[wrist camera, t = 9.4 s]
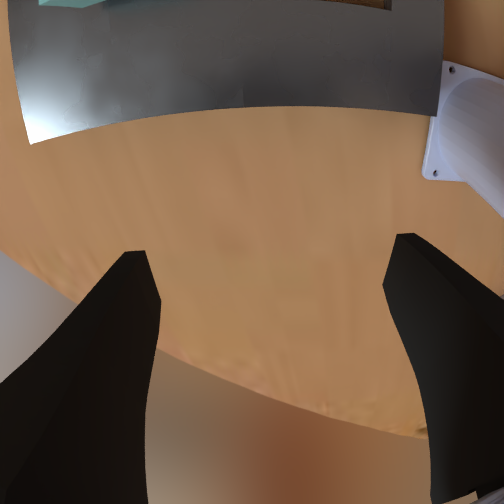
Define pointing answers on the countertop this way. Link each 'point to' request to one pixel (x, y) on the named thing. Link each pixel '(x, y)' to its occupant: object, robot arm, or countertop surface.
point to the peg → (69, 3)
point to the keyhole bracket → (220, 58)
